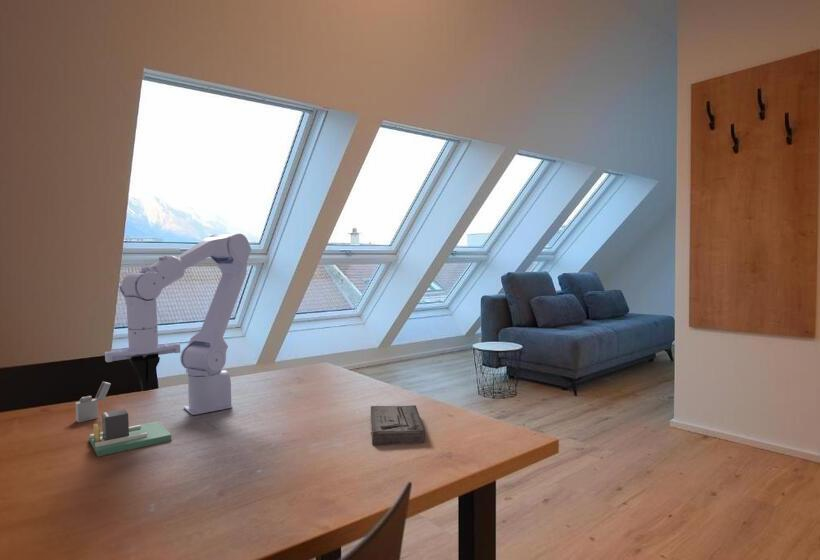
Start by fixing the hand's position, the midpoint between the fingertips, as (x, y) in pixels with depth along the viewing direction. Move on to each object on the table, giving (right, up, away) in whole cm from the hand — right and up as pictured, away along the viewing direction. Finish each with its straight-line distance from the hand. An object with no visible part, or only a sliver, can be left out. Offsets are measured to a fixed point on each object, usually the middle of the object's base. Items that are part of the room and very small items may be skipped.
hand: (145, 389), depth 113 cm
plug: (-1, -8, -9) cm, 12 cm away
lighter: (-16, -8, +8) cm, 19 cm away
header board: (+1, -9, -7) cm, 11 cm away
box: (+55, -9, -2) cm, 56 cm away
